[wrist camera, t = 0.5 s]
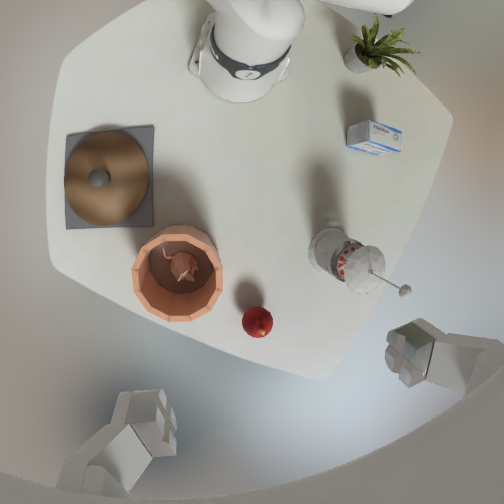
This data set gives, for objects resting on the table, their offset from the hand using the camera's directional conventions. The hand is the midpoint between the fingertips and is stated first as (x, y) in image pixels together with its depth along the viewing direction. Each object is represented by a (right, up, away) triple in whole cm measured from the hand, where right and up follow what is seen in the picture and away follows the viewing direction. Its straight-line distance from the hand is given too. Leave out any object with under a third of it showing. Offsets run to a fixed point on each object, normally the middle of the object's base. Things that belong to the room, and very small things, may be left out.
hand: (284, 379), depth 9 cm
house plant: (+21, +44, +39) cm, 63 cm away
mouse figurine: (-15, +3, +43) cm, 45 cm away
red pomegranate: (-1, -8, +48) cm, 48 cm away
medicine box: (+22, +27, +44) cm, 56 cm away
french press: (+15, +4, +48) cm, 50 cm away
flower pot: (-14, +2, +43) cm, 45 cm away
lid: (-28, +17, +36) cm, 49 cm away
